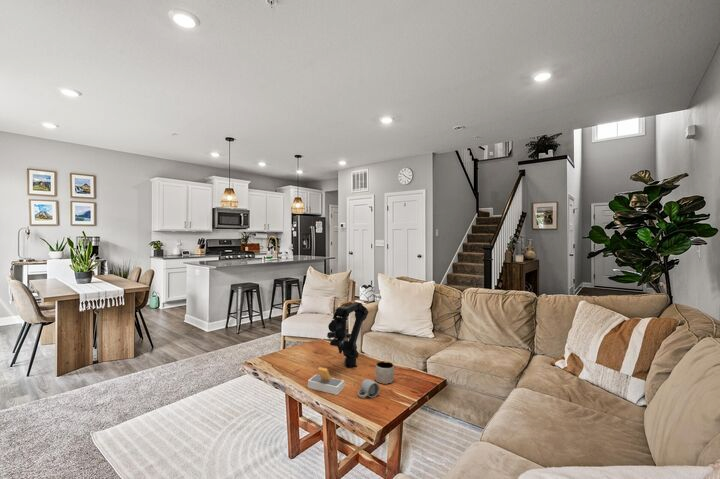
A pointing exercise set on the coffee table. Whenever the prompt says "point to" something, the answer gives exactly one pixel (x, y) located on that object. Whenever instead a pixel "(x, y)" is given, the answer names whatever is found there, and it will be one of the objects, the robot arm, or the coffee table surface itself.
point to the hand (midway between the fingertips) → (340, 353)
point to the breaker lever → (324, 373)
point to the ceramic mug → (369, 388)
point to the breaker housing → (326, 384)
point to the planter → (384, 372)
